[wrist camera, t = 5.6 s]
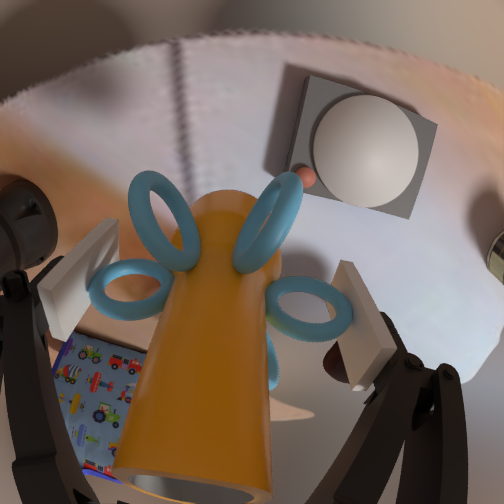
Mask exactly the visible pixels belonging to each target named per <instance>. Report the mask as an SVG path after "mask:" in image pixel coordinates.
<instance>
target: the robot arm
mask: <svg viewBox="0 0 504 504" xmlns="http://www.w3.org/2000/svg"><path fill="white" fill-rule="evenodd" d="M57 239H58V228H57V222H56V218H55V214H54V211H53V209H52V207H51V204H50V203H49V201H48V199H47V198H46V196H45V195H44V193H43V192H42V191H41V190H40V189H39V188H38V187H37V186H35V185H34V184H32V183H30V182H28V181H24V180H19V181H15V182H13V183H11V184H9V185H7V186H6V187H5V188H3V189H2V190H1V191H0V292H1V291H2V290H3V293H4V295H0V392H1V384H2V378H3V373H4V383H5V396H6V404H7V412H8V418H9V425H10V430H11V435H12V440H13V445H14V450H15V454H16V460H15V461H14V462H13V463H12V471H13V476H14V479H15V483H16V486H17V489H18V492H19V495H20V498H21V501H22V503H23V504H100V502H99V500H98V498H97V497H96V495H95V493H94V491H93V489H92V488H91V486H90V485H89V484H88V482H87V480H86V478H85V476H84V474H83V472H82V469H81V467H80V464H79V462H78V459H77V457H76V454H75V451H74V449H73V446H72V443H71V440H70V437H69V434H68V431H67V428H66V425H65V421H64V418H63V414H62V411H61V407H60V403H59V400H58V396H57V391H56V387H55V383H54V378H53V373H52V368H51V363H50V357H49V351H48V344H47V338H46V336H45V332H46V331H47V329H48V328H49V329H50V332H51V335H52V337H53V338H56V339H59V340H61V341H64V342H66V341H67V340H68V338H69V336H70V335H71V333H72V332H73V330H74V328H75V327H76V325H77V324H78V322H79V321H80V319H81V317H82V316H83V314H84V313H85V311H86V310H87V308H88V307H89V305H90V304H91V301H90V298H89V292H88V290H89V285H90V282H91V280H92V278H93V277H94V275H95V274H96V273H97V272H98V271H99V270H101V269H102V268H103V267H105V266H107V265H109V264H111V263H114V262H117V261H119V220H118V219H112V218H105V219H104V220H103V221H102V222H101V223H100V224H99V225H98V226H96V227H95V228H94V229H93V230H92V231H91V232H90V233H89V234H88V235H87V236H85V237H84V238H83V239H82V240H81V241H80V242H79V243H78V244H77V245H76V246H75V247H74V248H73V249H72V250H71V251H70V252H69V253H68V254H67V255H66V256H59V257H57V258H55V259H53V260H52V261H51V262H50V263H49V264H48V265H47V266H46V267H45V268H44V269H43V270H42V271H41V272H40V273H39V274H38V275H37V276H36V277H35V278H34V279H33V280H32V281H31V282H30V283H29V280H28V276H27V273H26V272H25V271H24V270H27V269H29V268H32V267H35V266H38V265H40V264H42V263H43V262H44V261H45V260H46V259H47V258H49V257H50V256H51V254H52V253H53V252H54V250H55V248H56V244H57ZM331 285H332V286H333V287H335V288H336V289H338V290H339V291H340V292H341V293H342V294H343V295H344V296H345V297H346V298H347V299H348V301H349V303H350V305H351V308H352V314H353V316H352V321H351V324H350V326H349V328H348V329H347V330H346V331H345V332H344V333H343V334H342V335H341V336H339V337H337V341H338V344H339V348H340V351H341V354H342V358H343V361H344V365H345V368H346V372H347V375H348V379H349V383H350V386H351V390H352V391H366V390H367V389H368V388H369V387H370V385H371V384H372V383H374V386H375V390H374V391H373V392H372V394H371V395H370V396H369V397H368V399H367V400H366V401H365V402H364V404H366V403H367V404H366V406H365V408H364V410H363V412H362V414H361V415H360V417H359V419H358V421H357V423H356V425H355V427H354V429H353V430H352V432H351V434H350V436H349V437H348V439H347V441H346V443H345V444H344V446H343V448H342V449H341V451H340V453H339V454H338V456H337V458H336V459H335V461H334V462H333V464H332V466H331V467H330V469H329V470H328V472H327V473H326V475H325V476H324V478H323V479H322V480H321V482H320V483H319V485H318V486H317V488H316V489H315V490H314V492H313V493H312V495H311V496H310V497H309V499H308V500H307V501H306V503H305V504H377V503H378V501H379V499H380V497H381V495H382V493H383V491H384V488H385V486H386V484H387V482H388V480H389V477H390V475H391V473H392V470H393V468H394V466H395V463H396V461H397V458H398V456H399V453H400V451H401V448H402V445H403V442H404V440H405V444H404V453H403V462H402V469H401V476H400V483H399V488H398V494H397V499H396V504H467V494H468V448H467V432H466V421H465V411H464V403H463V396H462V389H461V383H460V377H459V374H458V372H457V371H456V369H455V368H454V367H453V366H451V365H449V364H446V363H442V364H440V365H439V367H438V368H437V369H436V370H433V369H429V368H426V367H424V364H423V362H422V361H421V360H420V358H418V357H417V356H416V355H414V354H411V353H408V352H407V350H406V348H405V346H404V344H403V342H402V340H401V338H400V336H399V334H398V332H397V330H396V328H394V327H395V326H394V324H393V322H392V320H391V319H390V318H389V317H388V316H387V315H386V314H385V313H384V312H379V310H378V308H377V306H376V304H375V302H374V300H373V298H372V297H371V295H370V293H369V291H368V289H367V287H366V285H365V284H364V282H363V280H362V278H361V276H360V274H359V273H358V271H357V269H356V267H355V266H354V264H353V262H349V261H344V260H340V263H339V265H338V268H337V270H336V273H335V275H334V278H333V280H332V283H331ZM325 302H326V305H327V308H328V312H329V315H330V318H331V320H333V319H334V318H335V316H336V312H335V309H334V308H333V306H332V305H331V304H330V303H329V302H328V301H326V300H325ZM433 409H434V411H433ZM117 504H129V503H125V502H122V501H117Z"/></svg>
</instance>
